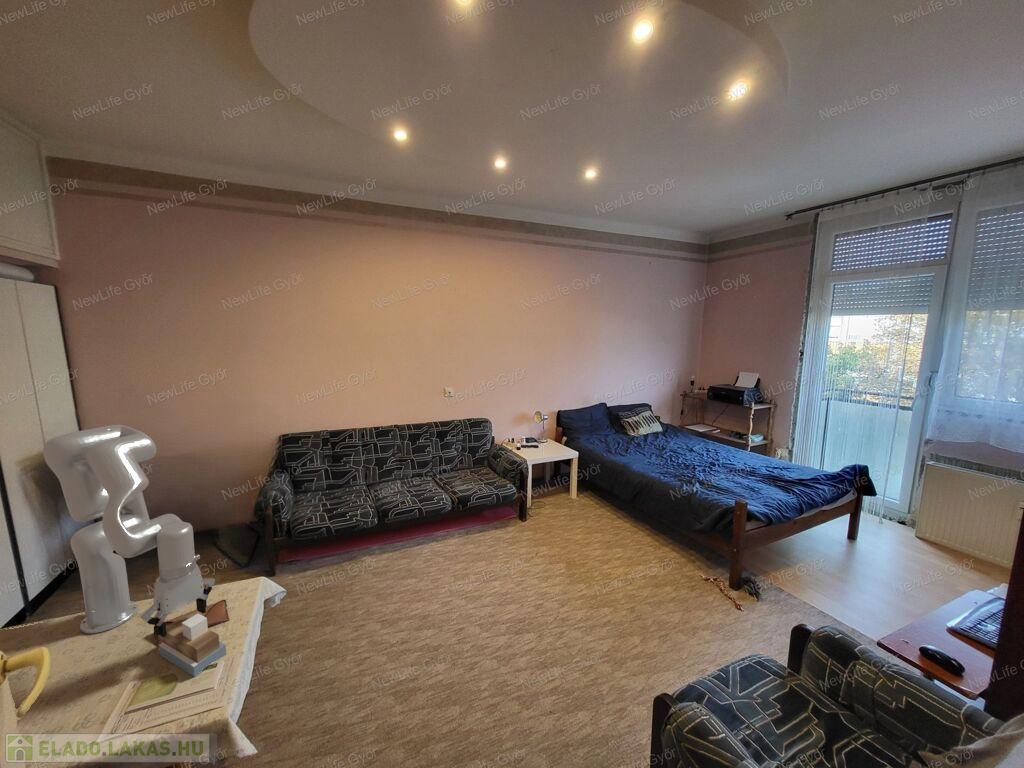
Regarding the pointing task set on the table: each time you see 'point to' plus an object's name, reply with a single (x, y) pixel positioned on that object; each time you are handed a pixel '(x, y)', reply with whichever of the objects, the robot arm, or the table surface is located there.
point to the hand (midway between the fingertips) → (182, 622)
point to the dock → (187, 662)
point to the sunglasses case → (213, 614)
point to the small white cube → (194, 626)
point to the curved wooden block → (193, 648)
